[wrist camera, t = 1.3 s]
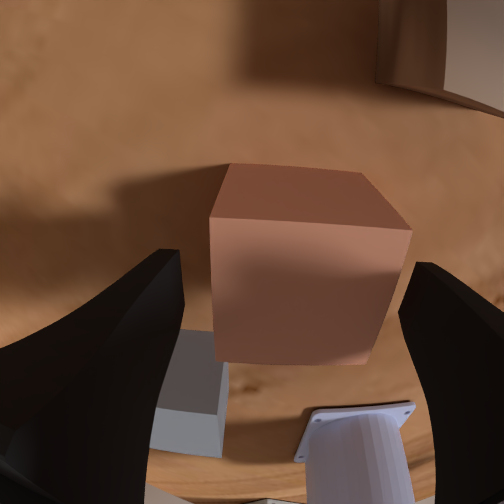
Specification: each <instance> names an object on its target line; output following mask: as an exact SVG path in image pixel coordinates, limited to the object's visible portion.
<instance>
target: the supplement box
mask: <svg viewBox="0 0 504 504" xmlns="http://www.w3.org/2000/svg"><path fill="white" fill-rule="evenodd" d="M246 504H300V503H292V502H285V501H279V500H273V499H264V500H260V501H256V502H251V503H246Z"/></svg>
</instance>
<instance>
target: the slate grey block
mask: <svg viewBox="0 0 504 504" xmlns="http://www.w3.org/2000/svg"><path fill="white" fill-rule="evenodd" d="M228 391H229V376H228V362H217V361H216V360H215V344H214V332H208V331H196V330H185V329H180V332H179V336H178V339H177V342H176V345H175V348H174V351H173V354H172V357H171V360H170V363H169V366H168V369H167V372H166V375H165V378H164V382H163V385H162V388H161V391H160V394H159V398H158V402H157V406H156V411H155V416H154V422H153V428H152V433H151V440H150V447H149V448H153V449H158V450H164V451H170V452H176V453H183V454H190V455H198V456H207V457H217V458H222V449H223V439H224V429H225V420H226V410H227V400H228Z"/></svg>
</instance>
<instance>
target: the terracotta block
mask: <svg viewBox="0 0 504 504" xmlns="http://www.w3.org/2000/svg"><path fill="white" fill-rule="evenodd" d="M209 223H210V259H211V285H212V307H213V327H214V344H215V360H216V361H217V362H231V363H248V364H270V365H358V364H366V362H367V360H368V358H369V356H370V353H371V351H372V348H373V346H374V344H375V341H376V339H377V336H378V334H379V331H380V329H381V326H382V324H383V321H384V318H385V316H386V313H387V310H388V308H389V305H390V302H391V299H392V297H393V294H394V291H395V288H396V285H397V282H398V279H399V276H400V273H401V270H402V267H403V263H404V260H405V257H406V254H407V250H408V247H409V243H410V240H411V236H412V233H413V230H412V229H411V228H410V226H409V225H408V224H407V223H406V222H405V220H404V219H403V218H402V217H401V216H400V215H399V214H398V212H397V211H396V210H395V209H394V208H393V207H392V206H391V204H390V203H389V202H388V201H387V200H386V199H385V198H384V197H383V196H382V194H381V193H380V192H379V191H378V190H377V189H376V188H375V187H374V186H373V185H372V184H371V183H370V181H369V180H368V179H367V178H366V177H365V176H364V175H363V174H362V173H357V172H348V171H338V170H328V169H317V168H305V167H292V166H277V165H259V164H236V163H230V165H229V168H228V170H227V173H226V175H225V178H224V181H223V183H222V186H221V188H220V191H219V193H218V196H217V199H216V201H215V204H214V207H213V209H212V212H211V214H210V217H209Z"/></svg>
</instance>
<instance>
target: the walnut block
mask: <svg viewBox="0 0 504 504" xmlns="http://www.w3.org/2000/svg"><path fill="white" fill-rule="evenodd" d="M375 83H380V84H385V85H390V86H394V87H399V88H403V89H407V90H411V91H415V92H419V93H423V94H427V95H430V96H434V97H437V98H441V99H444V100H448V101H451V102H454V103H457V104H460V105H463V106H466V107H469V108H472V109H475V110H478V111H481V112H484V113H488V114H491V115H494V116H498V117H501V118H504V0H379V20H378V46H377V63H376V76H375Z"/></svg>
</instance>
